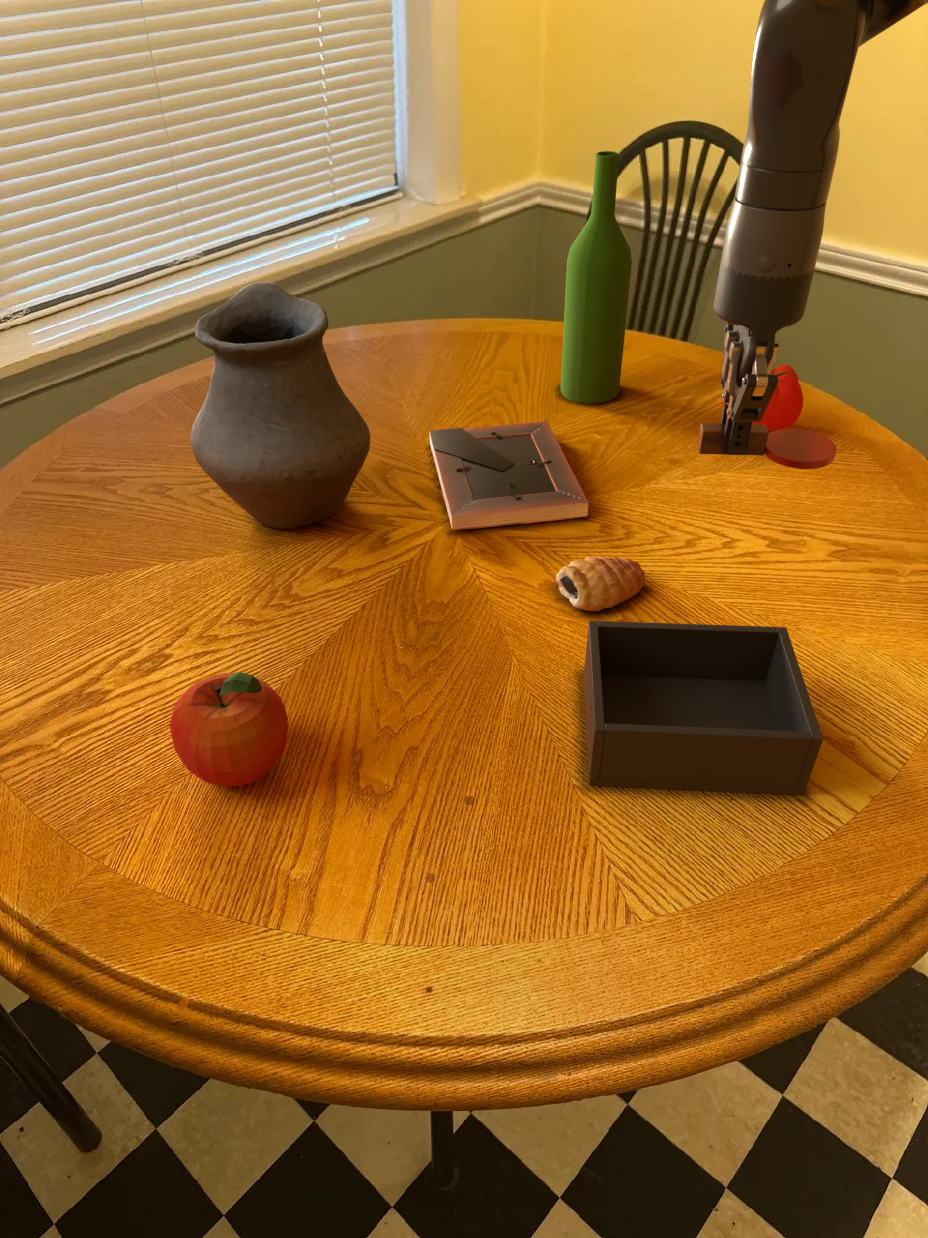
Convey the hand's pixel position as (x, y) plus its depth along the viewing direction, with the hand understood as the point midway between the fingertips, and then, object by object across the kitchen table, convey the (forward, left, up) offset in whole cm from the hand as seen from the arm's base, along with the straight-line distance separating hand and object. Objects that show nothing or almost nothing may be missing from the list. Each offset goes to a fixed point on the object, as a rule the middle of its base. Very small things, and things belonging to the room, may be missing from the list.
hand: (731, 446), depth 82 cm
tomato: (-12, -38, -17) cm, 43 cm away
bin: (+5, +21, -17) cm, 28 cm away
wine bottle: (+11, -49, -17) cm, 53 cm away
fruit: (+44, +27, -17) cm, 54 cm away
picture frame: (+23, -22, -17) cm, 36 cm away
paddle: (-3, 0, 0) cm, 3 cm away
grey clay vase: (+49, -15, -17) cm, 53 cm away
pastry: (+12, +1, -17) cm, 21 cm away
